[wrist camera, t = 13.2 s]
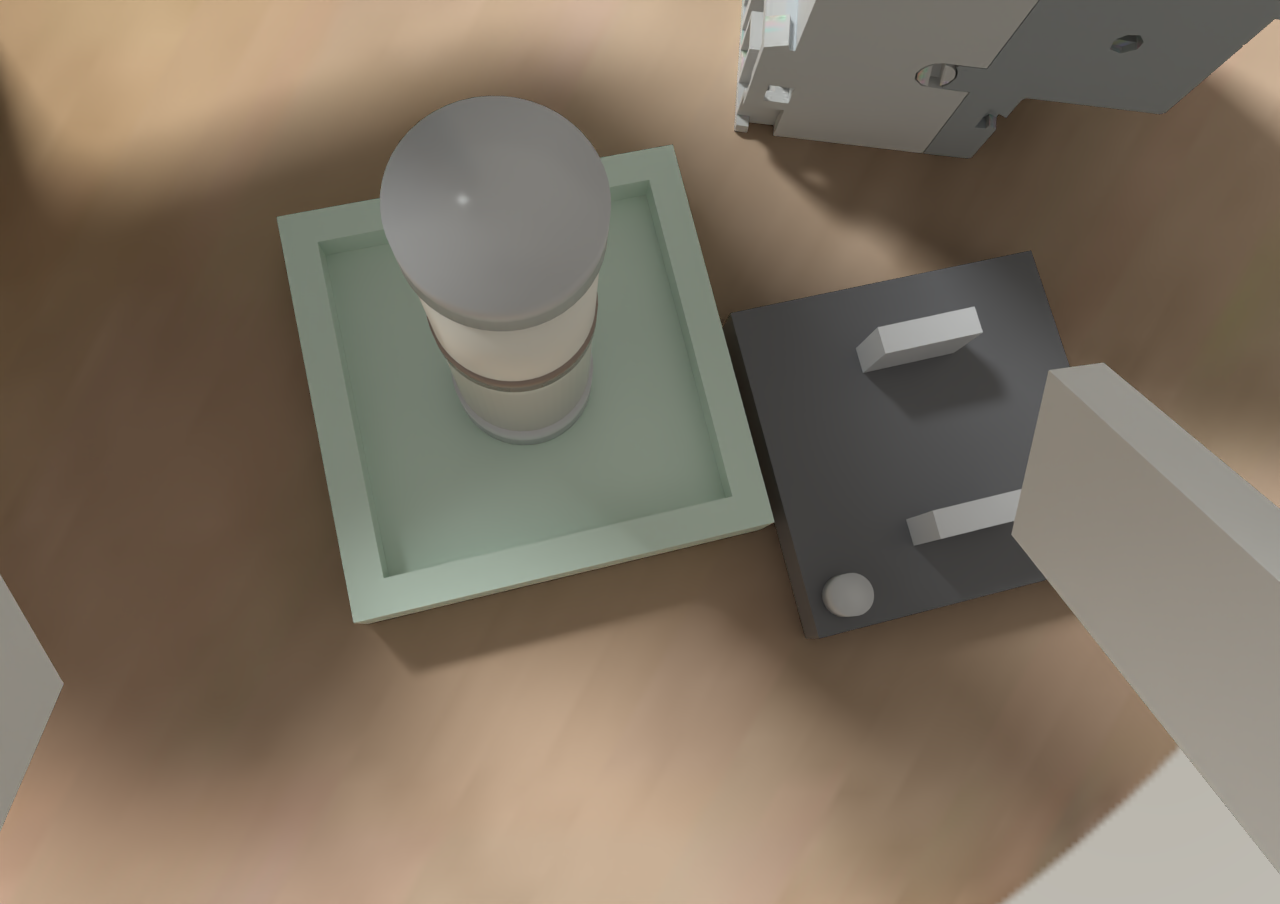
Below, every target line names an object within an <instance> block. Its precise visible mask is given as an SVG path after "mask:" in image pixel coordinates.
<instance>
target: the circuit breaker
mask: <svg viewBox="0 0 1280 904" xmlns="http://www.w3.org/2000/svg"><path fill="white" fill-rule="evenodd" d="M1274 19H1280V0H742V15H741V30H740V46H739V62H738V78H737V94H736V110H735V125H734V131H739V132H747V130H748V126H749V122H751V123H759V124H768V125H774V132H773V136H781V137H789V138H798V139H806V140H814V141H823V142H831V143H840V144H848V145H857V146H865V147H874V148H882V149H890V150H899V151H907V152H916V153H924V154H933V155H942V156H950V157H959V158H971V157H972V156H973V155H974V154H975V153H976V152H977V151H978V150H979V148H980V147H981V146H982V145H983V144H984V143H985V142H986V140H987V139H988V138H989V137H990V136H991V135H992V133H993V132H994V131H995V130H996V117H997V116H998V115H999V114H1000V115H1002V116H1003V117H1005V118H1006V117H1007V116H1008V115H1009V114H1010V113H1011V112H1012V110H1013V109H1014V108H1015V107H1016V106H1017V105H1018V104H1019V102H1020V101H1021V100H1023V99H1025V98H1029V99H1037V100H1046V101H1054V102H1062V103H1071V104H1079V105H1087V106H1096V107H1104V108H1112V109H1121V110H1129V111H1137V112H1146V113H1154V114H1163V113H1166V112H1167V111H1168V110H1169V109H1170V108H1172V107H1173V106H1174V105H1175V104H1176V103H1177V102H1179V101H1180V100H1181V99H1182V98H1183V97H1184V96H1186V95H1187V94H1188V93H1189V92H1190V91H1191V90H1193V89H1194V88H1195V87H1196V86H1197V85H1198V84H1200V83H1201V82H1202V81H1203V80H1204V79H1205V78H1207V77H1208V76H1209V75H1210V74H1211V73H1212V72H1214V71H1215V70H1216V69H1217V68H1218V67H1219V66H1221V65H1222V64H1223V63H1224V62H1225V61H1226V60H1228V59H1229V58H1230V57H1231V56H1232V55H1233V54H1235V53H1236V52H1237V51H1238V50H1239V49H1240V48H1242V47H1243V46H1242V45H1245V44H1246V43H1247V42H1249V41H1250V40H1251V39H1252V38H1253V37H1254V36H1256V35H1257V34H1258V33H1259V32H1260V31H1261V30H1263V29H1264V28H1265V27H1266V26H1267V25H1268V24H1270V23H1271V22H1272V21H1273V20H1274Z"/></svg>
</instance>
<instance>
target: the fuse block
mask: <svg viewBox="0 0 1280 904" xmlns="http://www.w3.org/2000/svg"><path fill="white" fill-rule="evenodd" d="M722 329H723V332H724V336H725V340H726V344H727V347H728V351H729V355H730V358H731V362H732V366H733V370H734V373H735V377H736V381H737V384H738V388H739V392H740V395H741V399H742V403H743V407H744V410H745V414H746V418H747V421H748V425H749V429H750V433H751V436H752V440H753V444H754V447H755V451H756V455H757V458H758V462H759V466H760V470H761V473H762V477H763V481H764V484H765V488H766V492H767V496H768V499H769V503H770V507H771V510H772V514H773V518H774V521H775V522H774V523H775V527H776V530H777V534H778V538H779V542H780V545H781V549H782V553H783V556H784V560H785V564H786V567H787V571H788V575H789V579H790V582H791V586H792V590H793V593H794V597H795V601H796V605H797V608H798V612H799V616H800V619H801V623H802V627H803V631H804V634H805V638H816V639H819V638H823V637H827V636H831V635H835V634H839V633H843V632H846V631H850V630H854V629H858V628H862V627H866V626H870V625H873V624H877V623H881V622H885V621H889V620H893V619H897V618H901V617H904V616H908V615H912V614H916V613H920V612H924V611H928V610H932V609H935V608H939V607H943V606H947V605H951V604H955V603H959V602H963V601H966V600H970V599H974V598H978V597H982V596H986V595H990V594H993V593H997V592H1001V591H1005V590H1009V589H1013V588H1017V587H1021V586H1024V585H1028V584H1032V583H1036V582H1040V581H1044V580H1047V579H1046V578H1045V576H1044V575H1043V574H1042V573H1041V571H1040V570H1039V569H1038V568H1037V566H1036V565H1035V564H1034V563H1033V561H1032V560H1031V559H1030V557H1029V556H1028V555H1027V554H1026V552H1025V551H1024V550H1023V549H1022V547H1021V546H1020V545H1019V544H1018V542H1017V541H1016V540H1015V539H1014V537H1013V536H1012V535H1011V534H1012V529H1013V525H1014V520H1015V516H1016V512H1017V507H1018V503H1019V498H1020V494H1021V490H1022V485H1023V481H1024V476H1025V472H1026V468H1027V463H1028V459H1029V454H1030V450H1031V446H1032V441H1033V437H1034V433H1035V428H1036V424H1037V419H1038V415H1039V411H1040V406H1041V402H1042V397H1043V393H1044V389H1045V384H1046V380H1047V375H1048V371H1049V370H1053V369H1060V368H1068V367H1070V366H1069V363H1068V360H1067V357H1066V354H1065V351H1064V348H1063V345H1062V342H1061V339H1060V336H1059V333H1058V330H1057V327H1056V324H1055V321H1054V318H1053V315H1052V312H1051V309H1050V306H1049V303H1048V300H1047V297H1046V294H1045V291H1044V288H1043V285H1042V282H1041V279H1040V276H1039V273H1038V270H1037V267H1036V264H1035V261H1034V258H1033V255H1032V252H1031V251H1026V252H1021V253H1017V254H1012V255H1007V256H1002V257H997V258H993V259H988V260H983V261H978V262H973V263H969V264H964V265H959V266H954V267H949V268H945V269H940V270H935V271H930V272H926V273H921V274H916V275H911V276H906V277H902V278H897V279H892V280H887V281H882V282H878V283H873V284H868V285H863V286H858V287H854V288H849V289H844V290H839V291H834V292H830V293H825V294H820V295H815V296H810V297H806V298H801V299H796V300H791V301H786V302H782V303H777V304H772V305H767V306H762V307H758V308H753V309H748V310H743V311H738V312H734V313H730V315H729V317H728V319H727V321H726V323H725V324H724V326H723V328H722Z"/></svg>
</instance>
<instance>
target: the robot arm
mask: <svg viewBox="0 0 1280 904" xmlns="http://www.w3.org/2000/svg"><path fill="white" fill-rule="evenodd" d="M1011 535H1012V536H1013V537H1014V539H1015V540H1016V541H1017V542H1018V544H1019V545H1020V546H1021V547H1022V549H1023V550H1024V551H1025V552H1026V554H1027V555H1028V556H1029V557H1030V559H1031V560H1032V561H1033V563H1034V564H1035V565H1036V566H1037V568H1038V569H1039V570H1040V571H1041V573H1042V574H1043V575H1044V576H1045V578H1046V579H1047V580H1048V582H1049V583H1050V584H1051V585H1052V587H1053V588H1054V589H1055V590H1056V592H1057V593H1058V594H1059V595H1060V597H1061V598H1062V599H1063V601H1064V602H1065V603H1066V604H1067V606H1068V607H1069V608H1070V609H1071V611H1072V612H1073V613H1074V614H1075V616H1076V617H1077V618H1078V619H1079V621H1080V622H1081V623H1082V625H1083V626H1084V627H1085V628H1086V630H1087V631H1088V632H1089V633H1090V635H1091V636H1092V637H1093V638H1094V640H1095V641H1096V642H1097V644H1098V645H1099V646H1100V647H1101V649H1102V650H1103V651H1104V652H1105V654H1106V655H1107V656H1108V657H1109V659H1110V660H1111V661H1112V663H1113V664H1114V665H1115V666H1116V668H1117V669H1118V670H1119V671H1120V673H1121V674H1122V675H1123V676H1124V678H1125V679H1126V680H1127V681H1128V683H1129V684H1130V685H1131V687H1132V688H1133V689H1134V690H1135V692H1136V693H1137V694H1138V695H1139V697H1140V698H1141V699H1142V700H1143V702H1144V703H1145V704H1146V706H1147V707H1148V708H1149V709H1150V711H1151V712H1152V713H1153V714H1154V716H1155V717H1156V718H1157V719H1158V721H1159V722H1160V723H1161V725H1162V726H1163V727H1164V728H1165V730H1166V731H1167V732H1168V733H1169V735H1170V736H1171V737H1172V738H1173V740H1174V741H1175V742H1176V743H1177V745H1178V746H1179V747H1180V749H1181V750H1182V751H1183V752H1184V754H1185V755H1186V756H1187V757H1188V759H1189V760H1190V761H1191V762H1192V764H1193V765H1194V766H1195V767H1196V769H1197V770H1198V771H1199V773H1200V774H1201V775H1202V776H1203V778H1204V779H1205V780H1206V781H1207V783H1208V784H1209V785H1210V787H1211V788H1212V789H1213V790H1214V791H1215V793H1216V794H1217V795H1218V797H1219V798H1220V799H1221V800H1222V802H1223V803H1224V804H1225V805H1226V807H1227V808H1228V809H1229V810H1230V812H1231V813H1232V814H1233V816H1234V817H1235V818H1236V819H1237V821H1238V822H1239V823H1240V824H1241V826H1242V827H1243V828H1244V829H1245V831H1246V832H1247V833H1248V835H1249V836H1250V837H1251V838H1252V839H1253V841H1254V842H1255V843H1256V845H1257V846H1258V847H1259V849H1260V850H1261V851H1262V852H1263V854H1264V855H1265V856H1266V857H1267V859H1269V861H1270V862H1271V864H1272V865H1273V866H1274V867H1275V869H1276V870H1277V871H1278V872H1279V874H1280V509H1279V508H1278V507H1277V506H1276V505H1274V504H1273V503H1272V502H1271V501H1270V500H1268V499H1267V498H1266V497H1265V496H1264V495H1262V494H1261V493H1260V492H1259V491H1258V490H1256V489H1255V488H1254V487H1253V486H1252V485H1250V484H1249V483H1248V482H1247V481H1246V480H1244V479H1243V478H1242V477H1241V476H1239V475H1238V474H1237V473H1236V472H1235V471H1233V470H1232V469H1231V468H1230V467H1229V466H1227V465H1226V464H1225V463H1224V462H1223V461H1221V460H1220V459H1219V458H1218V457H1217V456H1215V455H1214V454H1213V453H1212V452H1211V451H1209V450H1208V449H1207V448H1206V447H1205V446H1203V445H1202V444H1201V443H1200V442H1199V441H1197V440H1196V439H1195V438H1194V437H1193V436H1191V435H1190V434H1189V433H1188V432H1187V431H1185V430H1184V429H1183V428H1182V427H1181V426H1179V425H1178V424H1177V423H1176V422H1174V421H1173V420H1172V419H1171V418H1170V417H1168V416H1167V415H1166V414H1165V413H1164V412H1162V411H1161V410H1160V409H1159V408H1158V407H1156V406H1155V405H1154V404H1153V403H1152V402H1150V401H1149V400H1148V399H1147V398H1146V397H1144V396H1143V395H1142V394H1141V393H1140V392H1138V391H1137V390H1136V389H1135V388H1134V387H1132V386H1131V385H1130V384H1129V383H1128V382H1126V381H1125V380H1124V379H1123V378H1122V377H1120V376H1119V375H1118V374H1117V373H1115V372H1114V371H1113V370H1112V369H1111V368H1109V367H1108V366H1107V365H1106V364H1105V363H1097V364H1090V365H1082V366H1075V367H1068V368H1060V369H1053V370H1049V371H1048V375H1047V380H1046V384H1045V389H1044V393H1043V397H1042V402H1041V406H1040V411H1039V415H1038V419H1037V424H1036V428H1035V433H1034V437H1033V441H1032V446H1031V450H1030V454H1029V459H1028V463H1027V468H1026V472H1025V476H1024V481H1023V485H1022V490H1021V494H1020V498H1019V503H1018V507H1017V512H1016V516H1015V520H1014V525H1013V529H1012V534H1011ZM63 685H64V683H63V681H62V680H61V678H60V676H59V675H58V673H57V671H56V669H55V668H54V666H53V664H52V663H51V661H50V659H49V657H48V656H47V654H46V652H45V651H44V649H43V647H42V645H41V644H40V642H39V640H38V638H37V637H36V635H35V633H34V632H33V630H32V628H31V626H30V625H29V623H28V621H27V620H26V618H25V616H24V614H23V613H22V611H21V609H20V607H19V606H18V604H17V602H16V601H15V599H14V597H13V595H12V594H11V592H10V590H9V589H8V587H7V585H6V583H5V582H4V580H3V578H2V577H1V575H0V831H1V829H2V826H3V824H4V822H5V819H6V817H7V815H8V812H9V810H10V808H11V805H12V803H13V801H14V798H15V796H16V794H17V791H18V789H19V787H20V785H21V782H22V780H23V778H24V775H25V773H26V771H27V768H28V766H29V764H30V761H31V759H32V757H33V754H34V752H35V750H36V747H37V745H38V743H39V740H40V738H41V736H42V733H43V731H44V729H45V726H46V724H47V722H48V719H49V717H50V715H51V713H52V710H53V708H54V706H55V703H56V701H57V699H58V696H59V694H60V692H61V689H62V687H63Z"/></svg>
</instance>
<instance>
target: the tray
mask: <svg viewBox="0 0 1280 904" xmlns="http://www.w3.org/2000/svg"><path fill="white" fill-rule="evenodd" d="M600 159H601V161H602V164H603V166H604V168H605V172H606V175H607V178H608V182H609V187H610V193H611V212H610V222H609V231H608V240H607V248H606V252H605V256H604V260H603V263H602V266H601V268H600V271H599V277H598V287H597V293H598V310H597V319H596V328H595V332H594V336H593V339H592V349H591V353H592V358H593V375H592V384H591V392H590V396H589V400H588V402H587V405H586V407H585V409H584V411H583V413H582V415H581V416H580V417H579V419H578V420H577V421H576V422H575V423H574V424H573V426H572V427H571V428H569V429H568V430H567V431H566V432H564V433H563V434H561V435H560V436H558V437H556V438H554V439H552V440H549V441H547V442H543V443H540V444H534V445H515V444H509V443H505V442H502V441H499V440H497V439H495V438H493V437H491V436H489V435H487V434H486V433H484V432H483V431H482V430H480V429H479V428H478V427H477V426H476V425H475V424H474V423H473V422H472V420H471V419H470V418H469V417H468V415H467V413H466V412H465V410H464V408H463V406H462V404H461V401H460V399H459V397H458V395H457V392H456V390H455V387H454V384H453V380H452V373H451V370H450V367H449V365H448V363H447V361H446V359H445V357H444V356H443V354H442V353H441V351H440V349H439V347H438V345H437V343H436V341H435V338H434V336H433V334H432V332H431V329H430V327H429V323H428V320H427V315H426V312H425V310H424V308H423V305H422V303H421V301H420V299H419V296H418V295H417V294H416V293H415V291H414V290H413V289H412V288H411V286H410V285H409V283H408V282H407V280H406V278H405V277H404V275H403V273H402V271H401V269H400V266H399V264H398V262H397V260H396V258H395V255H394V253H393V251H392V249H391V246H390V244H389V242H388V240H387V237H386V235H385V231H384V228H383V224H382V219H381V212H380V198H377V199H371V200H366V201H360V202H355V203H349V204H344V205H338V206H333V207H327V208H322V209H316V210H311V211H305V212H300V213H294V214H289V215H284V216H278V217H277V222H278V228H279V233H280V238H281V243H282V249H283V254H284V259H285V264H286V270H287V275H288V280H289V285H290V291H291V296H292V301H293V307H294V312H295V317H296V322H297V328H298V333H299V338H300V343H301V349H302V354H303V359H304V364H305V370H306V375H307V380H308V386H309V391H310V396H311V401H312V407H313V412H314V417H315V422H316V428H317V433H318V438H319V443H320V449H321V454H322V459H323V465H324V470H325V475H326V480H327V486H328V491H329V496H330V501H331V507H332V512H333V517H334V522H335V528H336V533H337V538H338V544H339V549H340V554H341V559H342V565H343V570H344V575H345V580H346V586H347V591H348V596H349V601H350V607H351V612H352V617H353V623H360V624H370V623H374V622H378V621H383V620H387V619H391V618H395V617H399V616H403V615H408V614H412V613H416V612H420V611H424V610H428V609H432V608H437V607H441V606H445V605H449V604H453V603H457V602H462V601H466V600H470V599H474V598H478V597H482V596H487V595H491V594H495V593H499V592H503V591H507V590H511V589H516V588H520V587H524V586H528V585H532V584H536V583H541V582H545V581H549V580H553V579H557V578H561V577H566V576H570V575H574V574H578V573H582V572H586V571H590V570H595V569H599V568H603V567H607V566H611V565H615V564H620V563H624V562H628V561H632V560H636V559H640V558H645V557H649V556H653V555H657V554H661V553H665V552H669V551H674V550H678V549H682V548H686V547H690V546H694V545H699V544H703V543H707V542H711V541H715V540H719V539H724V538H728V537H732V536H736V535H740V534H744V533H748V532H753V531H757V530H760V529H762V528H764V527H766V526H768V525H770V524H772V523H774V522H775V521H774V518H773V514H772V510H771V507H770V503H769V499H768V496H767V492H766V488H765V484H764V481H763V477H762V473H761V470H760V466H759V462H758V458H757V455H756V451H755V447H754V444H753V440H752V436H751V433H750V429H749V425H748V421H747V418H746V414H745V410H744V407H743V403H742V399H741V395H740V392H739V388H738V384H737V381H736V377H735V373H734V370H733V366H732V362H731V358H730V355H729V351H728V347H727V344H726V340H725V336H724V332H723V329H722V325H721V321H720V318H719V314H718V310H717V307H716V303H715V299H714V295H713V292H712V288H711V284H710V281H709V277H708V273H707V269H706V266H705V262H704V258H703V255H702V251H701V247H700V244H699V240H698V236H697V232H696V229H695V225H694V221H693V218H692V214H691V210H690V206H689V203H688V199H687V195H686V192H685V188H684V184H683V181H682V177H681V173H680V169H679V166H678V162H677V158H676V155H675V151H674V147H673V144H672V145H667V146H661V147H656V148H650V149H645V150H639V151H634V152H628V153H623V154H617V155H612V156H606V157H601V158H600Z"/></svg>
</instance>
